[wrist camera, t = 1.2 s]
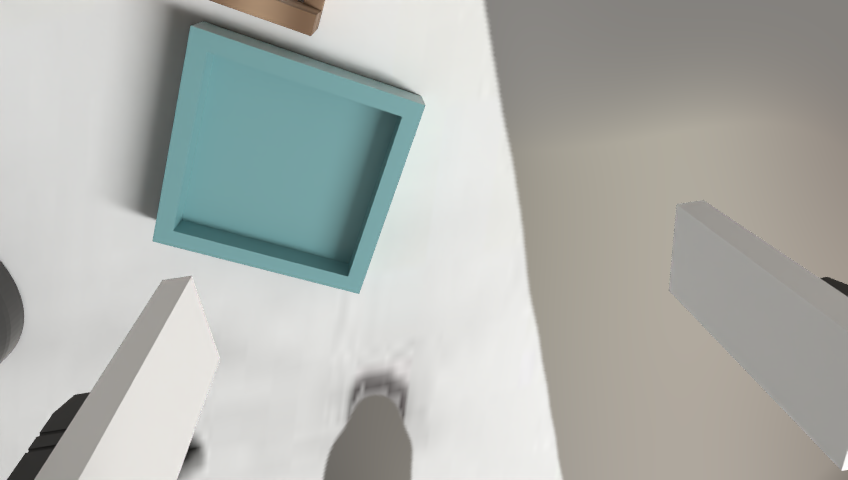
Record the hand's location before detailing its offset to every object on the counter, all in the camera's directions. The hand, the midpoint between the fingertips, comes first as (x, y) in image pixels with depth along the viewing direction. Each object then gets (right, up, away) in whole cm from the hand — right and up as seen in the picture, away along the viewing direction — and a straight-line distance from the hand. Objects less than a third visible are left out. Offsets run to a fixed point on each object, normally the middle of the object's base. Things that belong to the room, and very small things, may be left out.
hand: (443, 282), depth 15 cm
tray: (-10, +7, +26) cm, 28 cm away
